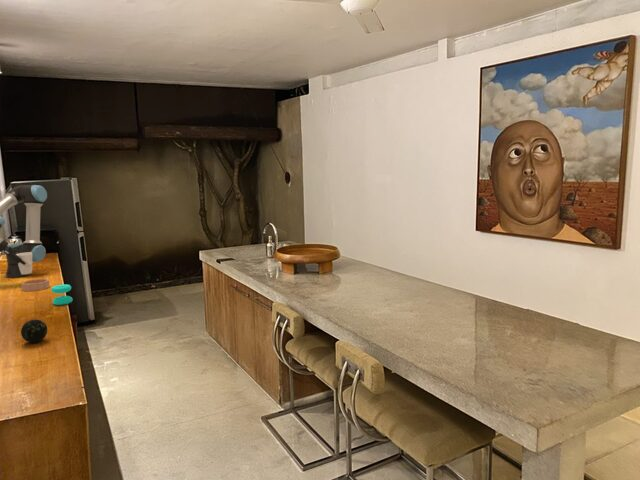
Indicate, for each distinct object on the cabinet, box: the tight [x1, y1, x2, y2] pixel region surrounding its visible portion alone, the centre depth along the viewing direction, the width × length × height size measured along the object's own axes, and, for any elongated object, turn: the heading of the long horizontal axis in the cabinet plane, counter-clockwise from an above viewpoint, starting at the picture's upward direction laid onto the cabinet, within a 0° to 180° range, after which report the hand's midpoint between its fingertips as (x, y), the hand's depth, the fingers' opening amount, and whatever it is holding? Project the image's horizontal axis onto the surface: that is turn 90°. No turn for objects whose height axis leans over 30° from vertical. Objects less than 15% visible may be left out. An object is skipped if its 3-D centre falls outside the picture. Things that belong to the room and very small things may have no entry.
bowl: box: [21, 278, 50, 292], centre depth 314 cm, size 15×15×4 cm
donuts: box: [50, 284, 74, 306], centre depth 277 cm, size 10×10×10 cm
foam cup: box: [16, 252, 33, 275], centre depth 322 cm, size 10×9×13 cm
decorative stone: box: [20, 319, 48, 344], centre depth 216 cm, size 10×10×10 cm
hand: (31, 265), depth 323 cm, fingers closed on foam cup, 9 cm apart
